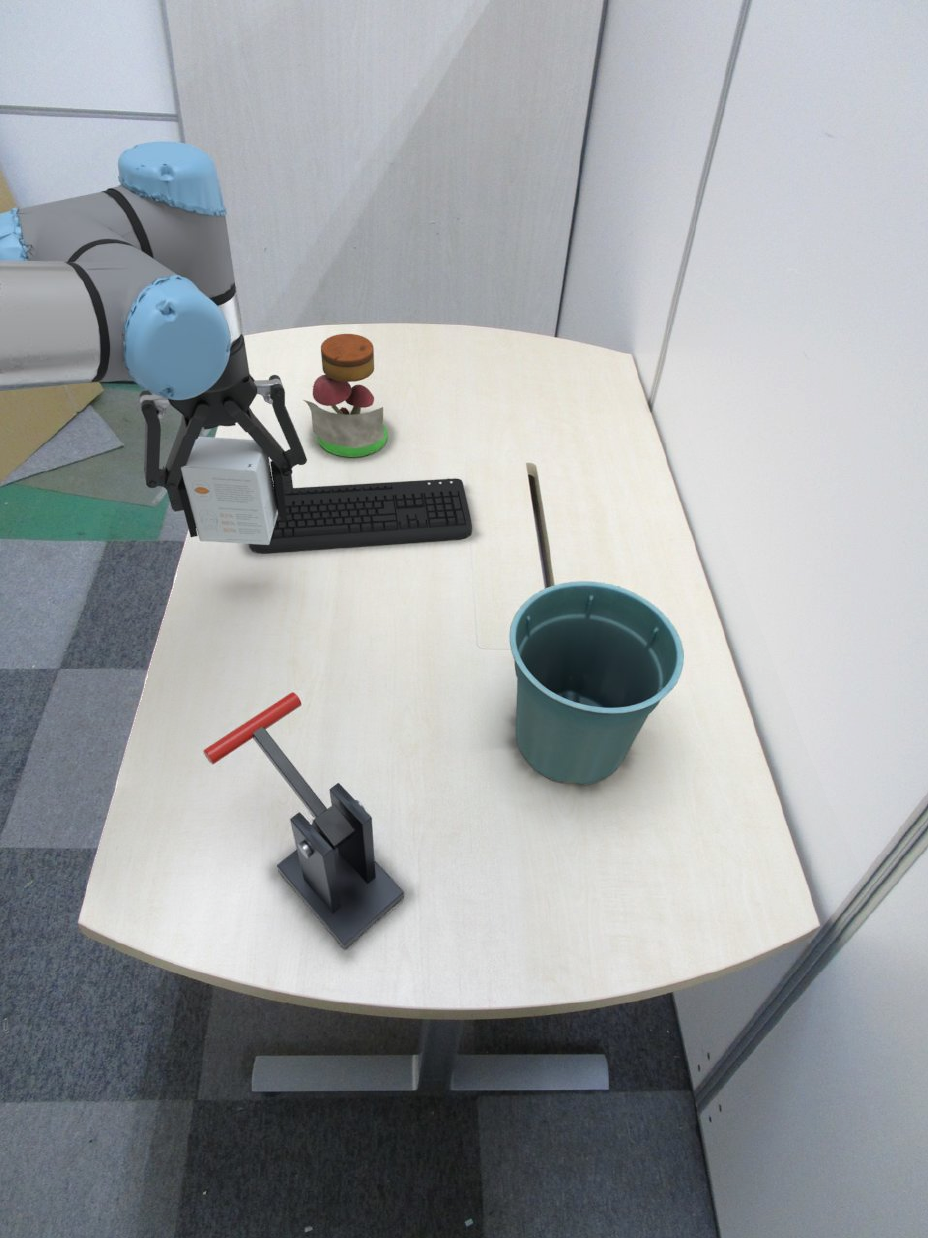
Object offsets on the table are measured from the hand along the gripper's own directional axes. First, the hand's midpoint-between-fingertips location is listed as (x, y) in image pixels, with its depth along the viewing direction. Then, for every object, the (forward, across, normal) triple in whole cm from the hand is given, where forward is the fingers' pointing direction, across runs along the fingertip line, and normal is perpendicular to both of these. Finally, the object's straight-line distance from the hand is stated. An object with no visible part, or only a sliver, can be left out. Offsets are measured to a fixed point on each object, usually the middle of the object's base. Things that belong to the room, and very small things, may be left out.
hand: (238, 521), depth 89 cm
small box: (+1, 0, 0) cm, 1 cm away
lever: (0, +1, +35) cm, 35 cm away
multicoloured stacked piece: (+11, -19, -28) cm, 36 cm away
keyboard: (+11, -16, -9) cm, 22 cm away
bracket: (+11, -2, +40) cm, 42 cm away
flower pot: (+11, -29, +32) cm, 45 cm away
